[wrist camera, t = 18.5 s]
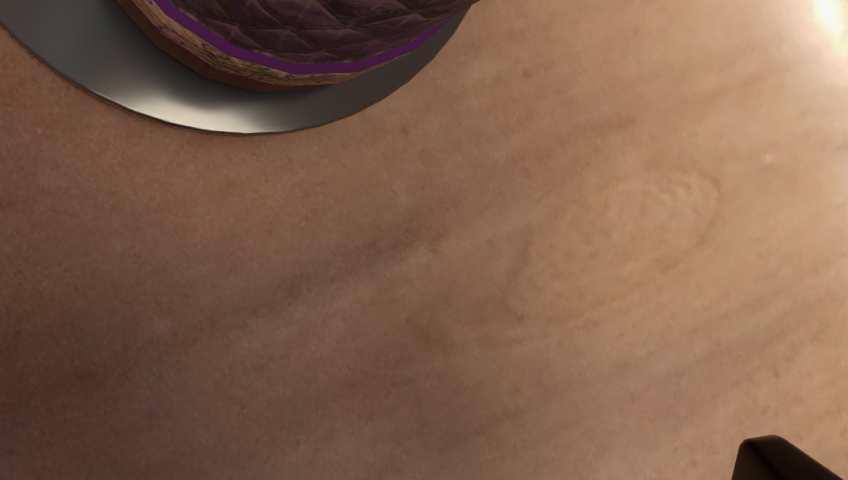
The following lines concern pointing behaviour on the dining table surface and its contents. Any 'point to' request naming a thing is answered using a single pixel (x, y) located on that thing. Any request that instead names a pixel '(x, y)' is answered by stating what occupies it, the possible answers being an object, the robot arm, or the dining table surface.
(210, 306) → the dining table surface
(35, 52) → the coaster
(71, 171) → the dining table surface
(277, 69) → the mug
